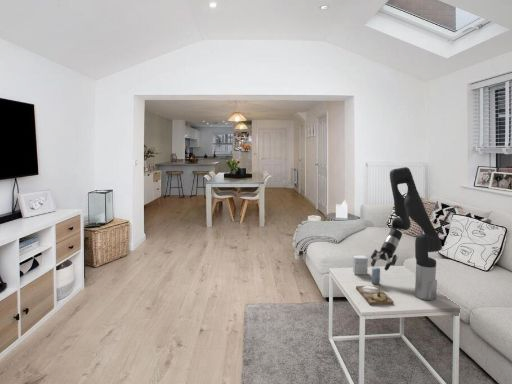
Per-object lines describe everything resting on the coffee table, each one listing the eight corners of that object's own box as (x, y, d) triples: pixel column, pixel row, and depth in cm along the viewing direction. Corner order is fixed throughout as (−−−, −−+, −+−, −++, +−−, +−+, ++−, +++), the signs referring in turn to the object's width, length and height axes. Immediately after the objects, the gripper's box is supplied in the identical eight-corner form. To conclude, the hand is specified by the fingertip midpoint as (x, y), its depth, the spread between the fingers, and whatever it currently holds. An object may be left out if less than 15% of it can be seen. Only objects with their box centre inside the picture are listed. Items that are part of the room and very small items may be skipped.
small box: (365, 271, 210) (365, 255, 209) (367, 274, 205) (368, 258, 204) (352, 271, 211) (352, 255, 210) (354, 274, 206) (354, 258, 204)
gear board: (393, 304, 164) (393, 295, 163) (369, 304, 163) (370, 295, 163) (377, 288, 184) (377, 280, 183) (356, 288, 183) (356, 280, 183)
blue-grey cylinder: (381, 283, 190) (381, 268, 189) (376, 285, 187) (377, 270, 186) (374, 281, 194) (374, 266, 193) (370, 283, 191) (370, 268, 190)
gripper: (377, 239, 201) (365, 261, 195) (399, 244, 189) (387, 267, 184) (381, 246, 204) (370, 268, 199) (403, 251, 193) (392, 274, 188)
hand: (378, 267), depth 191 cm, fingers open, 8 cm apart
